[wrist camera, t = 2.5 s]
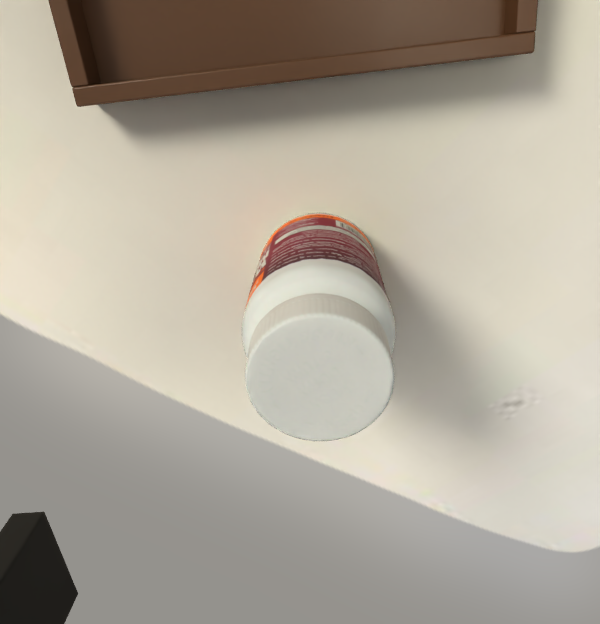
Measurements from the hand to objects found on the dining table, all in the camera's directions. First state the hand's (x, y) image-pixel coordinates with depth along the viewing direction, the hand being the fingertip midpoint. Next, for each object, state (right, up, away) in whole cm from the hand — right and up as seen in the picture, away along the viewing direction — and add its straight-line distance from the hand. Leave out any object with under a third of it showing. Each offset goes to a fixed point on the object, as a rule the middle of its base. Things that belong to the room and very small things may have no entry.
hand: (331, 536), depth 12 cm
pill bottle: (0, +8, +16) cm, 18 cm away
